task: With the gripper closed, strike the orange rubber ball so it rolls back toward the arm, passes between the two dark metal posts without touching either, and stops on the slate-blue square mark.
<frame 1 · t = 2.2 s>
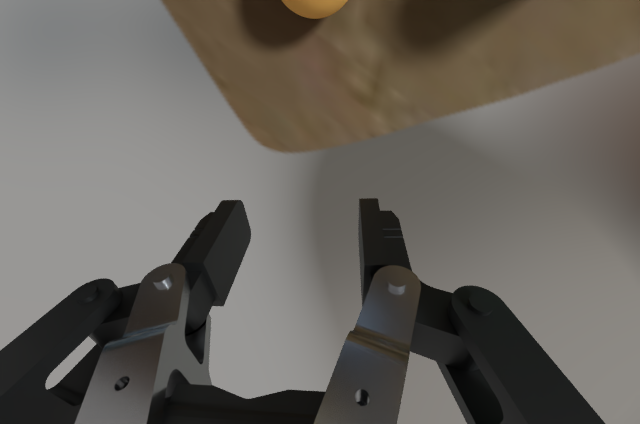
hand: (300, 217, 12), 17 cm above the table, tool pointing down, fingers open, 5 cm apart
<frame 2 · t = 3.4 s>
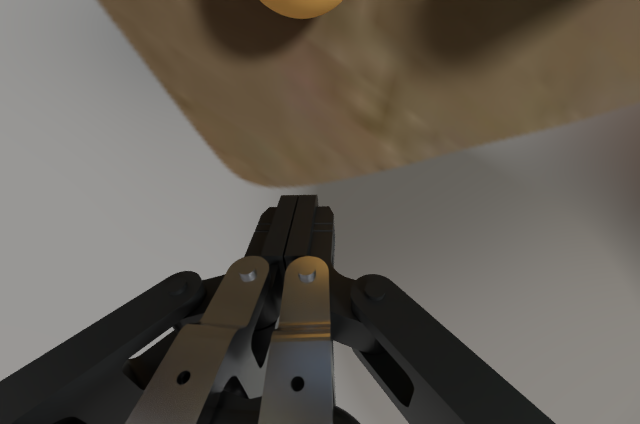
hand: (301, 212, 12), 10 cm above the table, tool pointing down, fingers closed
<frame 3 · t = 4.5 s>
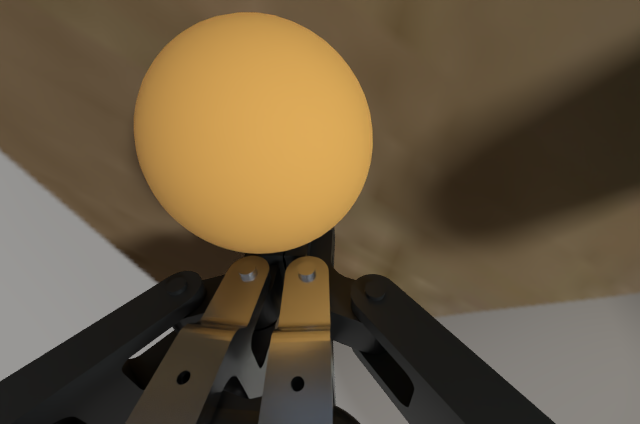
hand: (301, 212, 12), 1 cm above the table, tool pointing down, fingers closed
ball: (263, 145, 8), on the table, touching gripper
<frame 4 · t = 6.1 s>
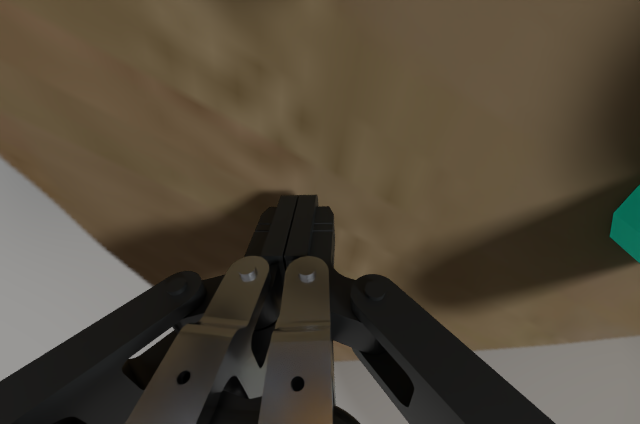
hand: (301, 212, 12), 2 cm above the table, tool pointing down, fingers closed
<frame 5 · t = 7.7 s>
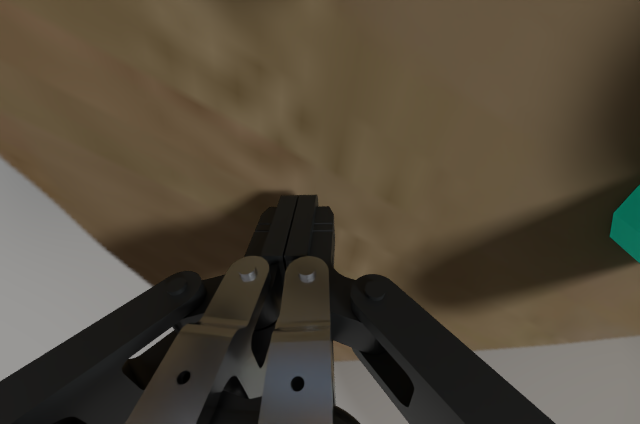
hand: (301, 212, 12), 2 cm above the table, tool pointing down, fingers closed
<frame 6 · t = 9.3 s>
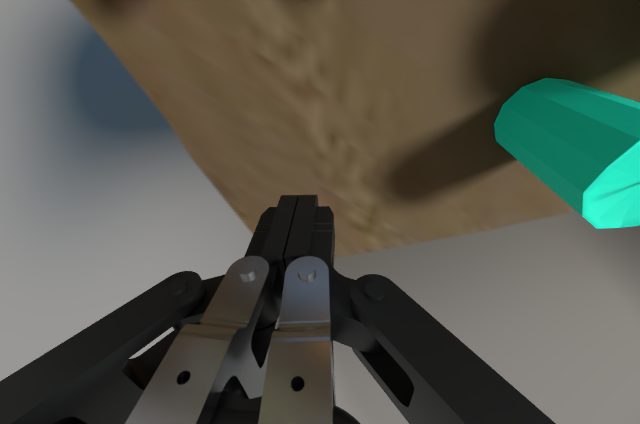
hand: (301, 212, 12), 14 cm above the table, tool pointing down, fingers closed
candle: (533, 117, 22), on the table
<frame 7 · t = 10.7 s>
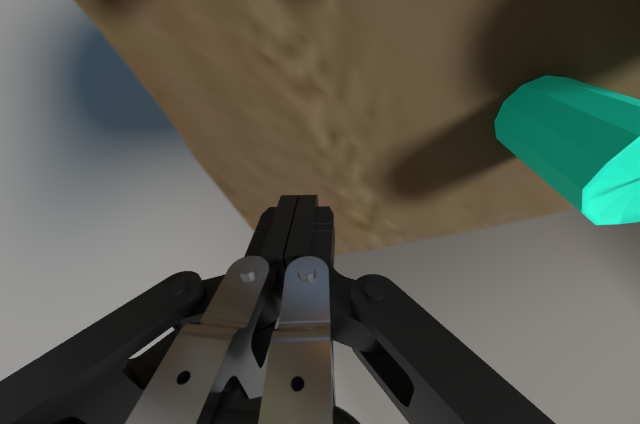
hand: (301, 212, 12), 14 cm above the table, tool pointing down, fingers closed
candle: (533, 114, 22), on the table
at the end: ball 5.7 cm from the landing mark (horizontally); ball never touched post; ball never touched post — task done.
